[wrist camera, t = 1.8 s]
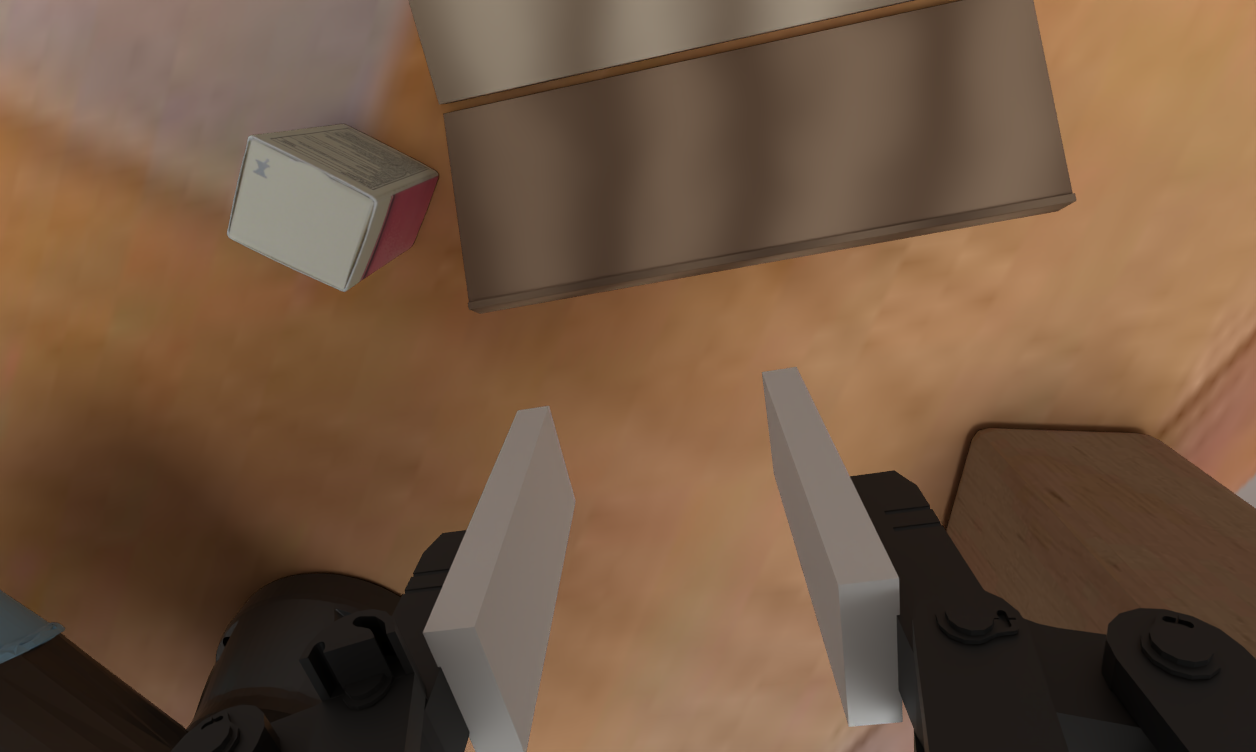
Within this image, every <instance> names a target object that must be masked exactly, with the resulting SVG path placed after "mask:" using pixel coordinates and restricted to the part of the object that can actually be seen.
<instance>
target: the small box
mask: <svg viewBox="0 0 1256 752" xmlns="http://www.w3.org/2000/svg"><path fill="white" fill-rule="evenodd" d="M437 180H438V173H437V172H436V171H435V170H433V169H431V168H430V167H428V166H426V165H424V164H422V163H420V162H419V161H416V160H415V159H413V158H411V157H409V156H407V155H405V154H403V153H401V152H399V151H397V150H395V149H393V148H391V147H389V146H387V145H385V144H383V143H381V142H379V141H377V140H376V139H374V138H372V137H370V136H368V135H366V134H364V133H361V132H359V131H357V130H355V129H353V128H351V127H349V126H347V125H345V124H338V125H331V126H323V127H315V128H307V129H298V130H291V131H283V132H275V133H267V134H258V135H251V136H249V137H248V141H247V146H246V150H245V154H244V157H243V161H242V165H241V169H240V173H239V178H238V181H237V187H236V191H235V196H234V200H233V206H232V211H231V216H230V221H229V227H228V230H227V235H228V237H229V238H230V239H232V240H234V241H236V242H238V243H240V244H242V245H244V246H246V247H248V248H250V249H252V250H254V251H256V252H258V253H260V254H262V255H264V256H266V257H268V258H271V259H272V260H274V261H277V262H279V263H281V264H283V265H285V266H287V267H289V268H291V269H294V270H296V271H298V272H300V273H302V274H305V275H307V276H309V277H311V278H313V279H316V280H318V281H320V282H322V283H325V284H327V285H329V286H332V287H334V288H336V289H338V290H340V291H344V292H345V291H347V290H349V289H350V288H351V287H353V286H354V285H356V284H357V283H359V282H360V281H361V280H363V279H364V278H366V277H367V276H369V275H370V274H372V273H373V272H375V271H376V270H378V269H379V268H381V267H382V266H384V265H385V264H387V263H388V262H390V261H391V260H393V259H394V258H396V257H397V256H399V255H400V254H402V253H403V252H405V251H406V250H408V249H409V248H410V247H412V245H413V243H414V241H415V239H416V236H417V233H418V231H419V229H420V226H421V224H422V221H423V219H424V216H425V214H426V211H427V208H428V206H429V203H430V200H431V197H432V195H433V192H434V189H435V186H436V183H437Z"/></svg>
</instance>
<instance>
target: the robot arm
mask: <svg viewBox="0 0 1256 752" xmlns="http://www.w3.org/2000/svg"><path fill="white" fill-rule="evenodd" d="M762 377H763V385H764V394H765V402H766V410H767V419H768V427H769V436H770V444H771V452H772V461H773V469H774V475H775V479H776V482H777V486H778V489H779V492H780V496H781V499H782V502H783V506H784V509H785V513H786V516H787V519H788V523H789V526H790V529H791V533H792V536H793V540H794V543H795V546H796V550H797V553H798V556H799V560H800V563H801V567H802V570H803V573H804V577H805V580H806V583H807V587H808V590H809V594H810V597H811V600H812V604H813V607H814V610H815V614H816V617H817V621H818V624H819V627H820V631H821V634H822V637H823V641H824V644H825V648H826V651H827V654H828V658H829V661H830V664H831V668H832V671H833V675H834V678H835V681H836V685H837V688H838V691H839V695H840V698H841V702H842V705H843V708H844V712H845V715H846V718H847V722H848V725H849V727H851V726H862V725H874V724H885V723H896V722H902V700H903V702H904V705H905V708H906V710H907V713H908V715H909V718H910V720H911V723H912V725H913V728H914V752H1256V659H1255V658H1254V657H1253V656H1252V655H1251V654H1250V653H1249V652H1248V651H1247V650H1246V649H1245V648H1244V647H1243V646H1242V645H1241V644H1239V643H1238V642H1237V641H1235V640H1234V639H1233V638H1231V637H1230V636H1229V635H1227V634H1226V633H1225V632H1223V631H1222V630H1221V629H1219V628H1217V627H1215V626H1213V625H1210V624H1208V623H1206V622H1204V621H1202V620H1200V619H1198V618H1195V617H1193V616H1190V615H1186V614H1182V613H1178V612H1174V611H1170V610H1167V609H1152V608H1137V609H1134V610H1130V611H1126V612H1122V613H1119V614H1118V615H1117V616H1116V617H1115V618H1114V619H1113V620H1112V621H1111V622H1110V623H1109V624H1108V628H1107V634H1099V633H1092V632H1085V631H1078V630H1070V629H1063V628H1056V627H1052V626H1047V625H1042V624H1038V623H1035V622H1032V621H1030V620H1027V619H1024V618H1023V617H1022V616H1021V614H1020V612H1019V611H1018V610H1016V609H1015V608H1014V607H1013V606H1011V605H1010V604H1009V603H1008V602H1006V601H1005V600H1004V599H1003V598H1000V597H998V596H996V595H994V594H991V593H989V592H987V591H985V590H984V589H983V588H982V586H981V585H980V583H979V582H978V580H977V578H976V577H975V575H974V574H973V572H972V571H971V569H970V567H969V566H968V564H967V563H966V561H965V560H964V558H963V557H962V555H961V553H960V552H959V550H958V549H957V547H956V546H955V544H954V543H953V541H952V539H951V538H950V536H949V535H948V533H947V532H946V530H945V529H944V527H943V526H941V524H940V521H939V519H938V518H937V516H936V515H935V513H934V511H933V510H932V509H930V505H929V504H928V502H927V501H926V499H925V497H924V496H923V494H922V493H921V491H920V490H919V488H918V486H917V485H915V484H914V483H912V482H911V481H909V480H908V479H906V478H905V477H903V476H902V475H900V474H899V473H897V472H896V471H887V472H880V473H873V474H865V475H858V476H849V474H848V472H847V470H846V468H845V466H844V464H843V462H842V460H841V458H840V456H839V453H838V451H837V449H836V447H835V445H834V443H833V441H832V439H831V437H830V435H829V433H828V431H827V429H826V427H825V425H824V423H823V421H822V418H821V416H820V414H819V412H818V410H817V408H816V406H815V404H814V402H813V400H812V398H811V396H810V394H809V392H808V390H807V388H806V386H805V384H804V381H803V379H802V377H801V375H800V373H799V371H798V369H797V367H792V368H786V369H780V370H773V371H767V372H762ZM575 502H576V501H575V497H574V494H573V490H572V486H571V483H570V479H569V476H568V472H567V468H566V465H565V461H564V458H563V454H562V451H561V447H560V443H559V440H558V436H557V433H556V429H555V425H554V422H553V418H552V415H551V411H550V407H549V406H544V407H538V408H531V409H525V410H518V411H517V413H516V416H515V418H514V420H513V423H512V425H511V427H510V430H509V432H508V434H507V437H506V439H505V441H504V444H503V446H502V448H501V451H500V453H499V455H498V458H497V460H496V462H495V465H494V467H493V469H492V472H491V474H490V477H489V479H488V481H487V484H486V486H485V488H484V491H483V493H482V495H481V498H480V500H479V502H478V505H477V507H476V509H475V512H474V514H473V516H472V519H471V521H470V523H469V526H468V528H467V530H464V531H456V532H449V533H442V534H441V535H440V536H439V537H438V538H437V539H436V540H435V541H434V542H433V543H432V544H431V545H430V546H429V547H428V548H427V550H426V551H425V552H424V553H423V555H422V557H421V559H420V561H419V563H418V565H417V567H416V569H415V571H414V573H413V574H414V576H413V577H411V579H410V581H409V583H408V585H407V587H406V589H405V594H403V595H402V597H399V596H397V595H396V594H394V593H392V592H390V591H388V590H386V589H384V588H382V587H379V586H377V585H375V584H372V583H369V582H366V581H363V580H360V579H356V578H352V577H347V576H342V575H335V574H301V575H295V576H290V577H286V578H283V579H280V580H277V581H274V582H272V583H270V584H268V585H266V586H264V587H263V588H261V589H260V590H258V591H257V592H256V593H255V594H253V595H252V596H251V597H250V598H249V600H248V601H247V602H246V603H245V605H244V606H243V607H242V608H241V610H240V611H239V612H238V613H237V615H236V616H235V617H234V618H233V620H232V621H231V622H230V624H229V625H228V627H227V628H226V630H225V632H224V634H223V636H222V638H221V641H220V643H219V646H218V650H217V654H216V663H215V665H214V667H213V669H212V671H211V673H210V675H209V677H208V680H207V682H206V685H205V688H204V690H203V693H202V696H201V699H200V702H199V704H198V707H197V710H196V713H195V716H194V719H193V721H192V722H191V724H190V725H189V726H188V728H187V729H185V728H184V727H183V726H182V725H180V724H179V723H178V722H176V721H175V720H174V719H172V718H171V717H170V716H168V715H167V714H166V713H164V712H163V711H162V710H161V709H159V708H158V707H157V706H155V705H154V704H153V703H151V702H150V701H149V700H147V699H146V698H145V697H143V696H142V695H141V694H139V693H138V692H137V691H135V690H134V689H133V688H131V687H130V686H129V685H128V684H126V683H125V682H124V681H122V680H121V679H120V678H118V677H117V676H116V675H114V674H113V673H112V672H110V671H109V670H108V669H106V668H105V667H104V666H102V665H101V664H100V663H99V662H97V661H96V660H95V659H93V658H92V657H91V656H89V655H88V654H87V653H85V652H84V651H83V650H81V649H80V648H79V647H78V646H76V645H75V644H74V643H73V642H71V641H70V640H69V639H68V638H66V637H65V636H64V635H63V634H61V632H63V631H64V630H65V628H64V627H63V626H62V625H61V624H59V623H56V622H52V623H49V622H47V621H46V620H44V619H43V618H41V617H40V616H38V615H37V614H35V613H34V612H32V611H31V610H29V609H28V608H26V607H25V606H23V605H22V604H20V603H19V602H18V601H16V600H15V599H13V598H12V597H10V596H9V595H7V594H6V593H4V592H3V591H1V590H0V752H464V751H465V747H466V744H467V741H468V737H469V738H470V740H471V742H472V744H473V747H474V749H475V751H476V752H526V751H527V746H528V741H529V736H530V731H531V726H532V721H533V715H534V710H535V705H536V700H537V695H538V690H539V685H540V680H541V675H542V670H543V665H544V660H545V654H546V649H547V644H548V639H549V634H550V629H551V624H552V619H553V614H554V609H555V604H556V599H557V593H558V588H559V583H560V578H561V573H562V568H563V563H564V558H565V553H566V548H567V543H568V538H569V532H570V527H571V522H572V517H573V512H574V507H575Z"/></svg>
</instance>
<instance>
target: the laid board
mask: <svg viewBox="0 0 1256 752" xmlns="http://www.w3.org/2000/svg"><path fill="white" fill-rule="evenodd" d="M909 1H914V0H409V4H410V7H411V10H412V14H413V17H414V21H415V24H416V27H417V31H418V34H419V37H420V41H421V44H422V48H423V51H424V54H425V58H426V61H427V65H428V68H429V71H430V75H431V78H432V82H433V85H434V88H435V92H436V95H437V99H438V102H439V104H447V103H452V102H457V101H461V100H466V99H470V98H475V97H479V96H484V95H488V94H493V93H497V92H502V91H506V90H511V89H515V88H520V87H524V86H529V85H534V84H538V83H543V82H547V81H552V80H556V79H561V78H565V77H570V76H574V75H579V74H583V73H588V72H592V71H597V70H601V69H606V68H611V67H615V66H620V65H624V64H629V63H633V62H638V61H642V60H647V59H651V58H656V57H660V56H665V55H669V54H674V53H678V52H683V51H687V50H692V49H697V48H701V47H706V46H710V45H715V44H719V43H724V42H728V41H733V40H737V39H742V38H746V37H751V36H755V35H760V34H764V33H769V32H774V31H778V30H783V29H787V28H792V27H796V26H801V25H805V24H810V23H814V22H819V21H823V20H828V19H832V18H837V17H841V16H846V15H850V14H855V13H860V12H864V11H869V10H873V9H878V8H882V7H887V6H891V5H896V4H900V3H905V2H909Z"/></svg>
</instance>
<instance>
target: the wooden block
mask: <svg viewBox="0 0 1256 752" xmlns="http://www.w3.org/2000/svg"><path fill="white" fill-rule="evenodd" d="M946 532H947V533H948V535H949V536H950V538H951V539H952V541H953V543H954V544H955V546H956V547H957V549H958V550H959V552H960V553H961V555H962V557H963V558H964V560H965V561H966V563H967V564H968V566H969V567H970V569H971V571H972V572H973V574H974V575H975V577H976V578H977V580H978V582H979V583H980V585H981V586H982V588H983V589H984V590H985V591H987V592H989V593H991V594H994V595H996V596H998V597H1000V598H1003V599H1004V600H1005V601H1006V602H1008V603H1009V604H1010V605H1011V606H1013V607H1014V608H1015V609H1016V610H1018V611H1019V612H1020V614H1021V616H1022V617H1023V618H1024V619H1027V620H1030V621H1032V622H1035V623H1038V624H1042V625H1047V626H1052V627H1056V628H1063V629H1070V630H1078V631H1085V632H1092V633H1099V634H1107V628H1108V624H1109V623H1110V622H1111V621H1112V620H1113V619H1114V618H1115V617H1116V616H1117V615H1118V614H1119V613H1122V612H1126V611H1130V610H1134V609H1137V608H1152V609H1167V610H1170V611H1174V612H1178V613H1182V614H1186V615H1190V616H1193V617H1195V618H1198V619H1200V620H1202V621H1204V622H1206V623H1208V624H1210V625H1213V626H1215V627H1217V628H1219V629H1221V630H1222V631H1223V632H1225V633H1226V634H1227V635H1229V636H1230V637H1231V638H1233V639H1234V640H1235V641H1237V642H1238V643H1239V644H1241V645H1242V646H1243V647H1244V648H1245V649H1246V650H1247V651H1248V652H1249V653H1250V654H1251V655H1252V656H1253V657H1254V658H1255V659H1256V509H1255V508H1254V507H1252V506H1251V505H1250V504H1248V503H1247V502H1246V501H1244V500H1243V499H1241V498H1240V497H1239V496H1237V495H1236V494H1234V493H1233V492H1232V491H1230V490H1229V489H1227V488H1226V487H1225V486H1223V485H1222V484H1220V483H1219V482H1218V481H1216V480H1215V479H1213V478H1212V477H1211V476H1209V475H1208V474H1206V473H1205V472H1204V471H1202V470H1201V469H1199V468H1198V467H1196V466H1195V465H1194V464H1192V463H1191V462H1189V461H1188V460H1187V459H1185V458H1184V457H1182V456H1181V455H1180V454H1178V453H1177V452H1175V451H1174V450H1173V449H1171V448H1170V447H1168V446H1167V445H1166V444H1164V443H1163V442H1161V441H1160V440H1158V439H1156V438H1154V437H1151V436H1149V435H1145V434H1139V433H1118V432H1088V431H1059V430H1029V429H1000V428H987V429H984V430H980V431H978V432H977V433H976V435H975V436H974V437H973V438H972V442H971V445H970V449H969V452H968V456H967V459H966V463H965V466H964V470H963V473H962V477H961V480H960V484H959V487H958V491H957V494H956V498H955V501H954V505H953V508H952V512H951V516H950V519H949V523H948V526H947V530H946Z"/></svg>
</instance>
